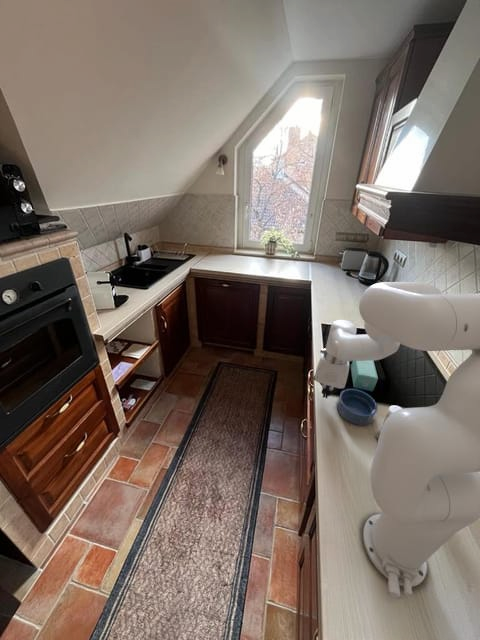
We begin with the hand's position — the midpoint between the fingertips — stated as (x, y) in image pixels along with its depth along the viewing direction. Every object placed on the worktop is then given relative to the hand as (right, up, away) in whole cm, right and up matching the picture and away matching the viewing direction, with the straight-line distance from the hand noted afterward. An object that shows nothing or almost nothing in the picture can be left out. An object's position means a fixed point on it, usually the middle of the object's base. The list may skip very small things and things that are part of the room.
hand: (325, 395), depth 93 cm
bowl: (+10, -5, -2) cm, 11 cm away
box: (+19, +3, +13) cm, 23 cm away
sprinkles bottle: (+15, -11, -12) cm, 22 cm away
